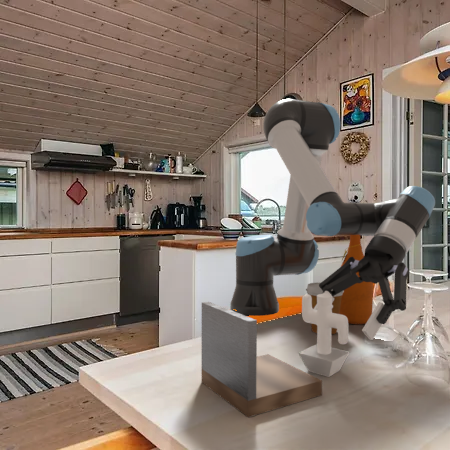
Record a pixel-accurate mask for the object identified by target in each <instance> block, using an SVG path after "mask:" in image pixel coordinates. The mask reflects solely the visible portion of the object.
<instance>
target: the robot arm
mask: <svg viewBox="0 0 450 450" xmlns="http://www.w3.org/2000/svg"><path fill="white" fill-rule="evenodd" d="M262 126H263V133H264V136H265V139H266V141H267V142H268V144H269V146H270V147H271V148H273V149H275V150H276V151H277V152H278V154H279V156H280V158H281V160H282V162H283V164H284V166H285V167H286V169H287V171H288V172H289V174H290V176H289V184H288V190H287V196H286V198H287V199H286V203H285V211H284V217H283V225H282V227H281V228H280V229H278V230H277V233H276V235H277V236H276V238H274V236H273V235H272V234H259V235H257V234H256V235H249V236H245V237H244V236H243V237H241V238H239V239H238V240H237V242H236V248H235V279H236V280H235V288H234V292H233V295H232V298H231V301H230V302H229V303H230V304H229V305H230V309H229V310H232V311H234V312H237V313H239V314H242V315H245V316H248V317H250V316H251V317H253V316H254V317H257V316H259V317H263V316H270V315H275V314H277V313H278V312H279V311H280V304H279V301H278V299H277V298H278V297H277V294H276V293H277V292H276V291H275V287H274V276H290V275H291V276H292V275H294V276H296V275H298V276H299V275H302V274H308V273H310V272H311V271H313V269H315V267H316V265H317V263H318V261H319V257H320V256H319V255H320V251H319V245H318V243H317V241H316V240H315V237H314V235H316V236H322V237H323V236H327V237H333V236H350V235H360V236H365V237H367V236H368V237H370V236H371V237H372V238H371V239H370V241H369V242H368V244H367V245H366V247H365V250H364V257H363V258H362V259H361V260H360V261H358V260H355V259H354V257H350V258H349V259H348V260H347V261H346V263H345V264H344V265H343V266H341V265H340V266H339V268H338V269H336V270H335V271H334V272H332V273H330V275H329V276H328V277H326V278H325V279H324V280H322V281H321V282H319V283H320V284H319V287H320V288H321V289H322V291H323V293H329V294H331V295H332V302H333V301H334V298H333V296H335V295H336V294H338V293H340V292H342V291H344V290H345V289H347V288H349V287H351V286H352V285H354V284H356V283H362V282H363V281H364V282H372V283H373V284H376V285H377V284H378V286H379V290H380V293H381V297H382V299H381V301H382V302H380V301H379V302H377V304H376V306H375V308H374V310H372V314H371V316H370V318H369V319H368V321H367V323H366V324H364V326H363V328H362V329H361V331H362V332H363V334H364V335H365V336H366V337H367V339H369V341H373V340H374V338H375V336H376V335H377V333H378V331H379V330H380V328H381V326H382V325H385V324H387V322H388V320H389V318H390V317H391V315H392V313H393V312H395V311H396V310H400V311H401V312H403V311H405V310H406V309H407V279H408V277H409V275H410V270H409V268H408V267H407V266H406V264H405V262H403V261H404V259H405V258H406V255H407V253H408V252H409V250H410V249H411V247H412V245H413V244H414V242H415V240H416V239H417V238H418V236H419V234H420V233H421V231H422V229H423V227H424V226H425V224H426V223H427V221H428V220H429V218H430V217H431V215H432V212H433V210H434V208H435V207H436V206H435V205H436V200H435V199H436V198H435V197H434V195H433V194H432V193H431V192H430V191H429V190H428V189H426V188H424V187H422V186H417V185H410V186H407V187H406V188H404V189H403V190H402V191H401V192H400V193H399V196H398V197H396V198H393V199H389V200H385V201H381V202H380V201H379V202H373V203H372V202H371V203H369V202H368V203H366V202H365V203H364V202H362V203H361V202H357V203H356V202H344V201H343V199H342V197H341V196H340V195H339V193H338V192H337V190H336V188H335V187H334V185H333V184H332V182H331V180H330V179H329V177H328V176H327V174H326V173H325V170H324V169H323V168H322V166H321V164H322V158H323V155H324V154H326V153H327V152H329V147H330V145H331V144H333V143H334V142H336V140H337V138H338V137H339V136H340V133H341V132H340V131H341V118H340V115H339V113H338V112H337V109H336V108H335V107H334V106H333V105H330V104H327V103H323V102H317V101H316V102H315V101H308V100H300V99H293V98H286V99H282V100H279V101H277V102H275V103H274V104H272V105H271V106H270V108H269V109H268V110H267V112H266V113H265V117H264V118H263V125H262ZM357 272H359V276H360V277H358V275H357V274H356V273H357ZM392 275H394V281H393V282H394V283H393V285H394V286H393V293H392V290H391V287H390V285H391V284H390V281H389V277H390V276H392ZM332 289H333V290H332ZM331 290H332V291H331ZM323 293H322V294H323ZM316 303H317V302H316ZM233 309H236V310H237V311H235V310H233ZM313 310H318V304H316V306H315V307H314V309H313Z"/></svg>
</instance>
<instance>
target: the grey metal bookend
mask: <svg viewBox="0 0 450 450" xmlns="http://www.w3.org/2000/svg"><path fill="white" fill-rule="evenodd" d="M257 330H258V320H257V319H254V318H252V317H250V316H248V315H242V314H239V313H237V312H234V311H232V310H230V309H229V308H226V307H223V306H221V305H219V304H216V303H213V302H210V301H205V302H204V301H203V302H201V370H202V369H203V370H204V371H206V372H207V373H209V374H210V375H212V376H213V377H214V378H216V379H217V380H219V381H220V382H222V383H223V384H225V385H226V386H227V387H229V388H230V389H232V390H233V391H235V392H236V393H237V394H239V395H240V396H242V397H243V398H245V399H246V400H248V401H250V400H253V399H256V368H257V357H258V356H257V349H258V348H257V347H258V346H257V341H258V340H257V335H258V331H257Z"/></svg>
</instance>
